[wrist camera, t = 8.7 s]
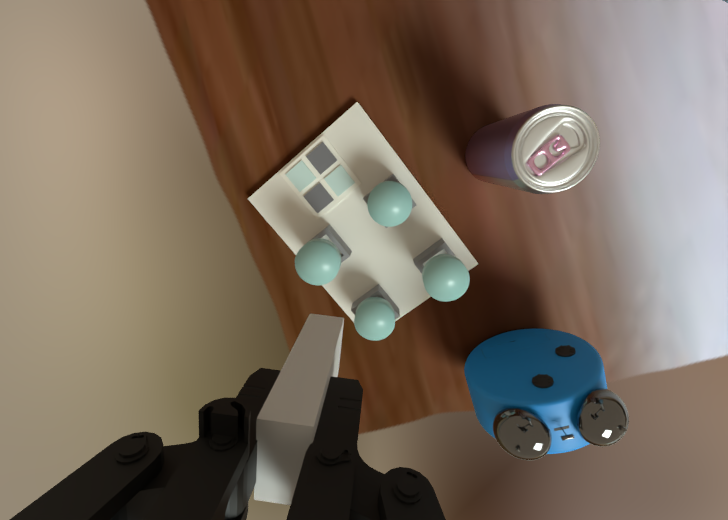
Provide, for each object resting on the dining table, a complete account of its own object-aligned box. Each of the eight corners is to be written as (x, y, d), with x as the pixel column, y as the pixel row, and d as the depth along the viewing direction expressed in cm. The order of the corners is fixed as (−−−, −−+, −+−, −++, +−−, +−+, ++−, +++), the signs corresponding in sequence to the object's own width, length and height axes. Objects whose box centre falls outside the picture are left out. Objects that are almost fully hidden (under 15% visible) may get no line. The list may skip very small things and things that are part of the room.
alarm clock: (464, 382, 46) (500, 485, 31) (453, 341, 44) (484, 429, 30) (570, 358, 44) (659, 456, 29) (561, 314, 42) (651, 394, 28)
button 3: (445, 240, 37) (452, 249, 34) (469, 271, 38) (478, 284, 34) (411, 264, 38) (414, 276, 35) (435, 295, 39) (441, 309, 35)
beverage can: (452, 152, 38) (491, 147, 24) (497, 111, 37) (568, 80, 22) (487, 193, 39) (544, 213, 25) (532, 155, 38) (622, 152, 23)
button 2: (326, 225, 38) (319, 233, 34) (352, 257, 39) (348, 268, 35) (295, 250, 39) (285, 260, 35) (321, 280, 40) (314, 293, 36)
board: (357, 102, 37) (355, 98, 35) (476, 261, 41) (483, 269, 38) (250, 198, 41) (239, 200, 38) (369, 336, 45) (367, 348, 42)
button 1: (393, 170, 38) (393, 172, 34) (418, 203, 39) (421, 208, 35) (361, 196, 39) (358, 200, 35) (385, 228, 40) (385, 235, 36)
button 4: (378, 282, 41) (377, 295, 38) (401, 310, 42) (403, 325, 38) (349, 303, 42) (345, 318, 39) (372, 330, 43) (371, 347, 39)
